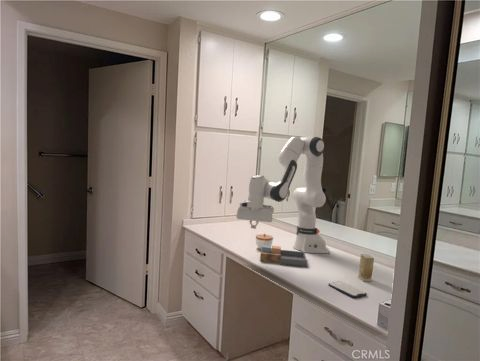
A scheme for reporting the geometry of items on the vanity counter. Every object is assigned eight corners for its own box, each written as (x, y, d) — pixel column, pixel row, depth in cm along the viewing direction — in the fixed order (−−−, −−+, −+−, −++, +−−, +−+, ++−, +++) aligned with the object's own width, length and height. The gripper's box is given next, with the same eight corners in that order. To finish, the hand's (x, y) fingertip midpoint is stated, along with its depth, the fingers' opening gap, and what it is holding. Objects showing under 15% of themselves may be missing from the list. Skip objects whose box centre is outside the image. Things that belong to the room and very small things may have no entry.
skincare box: (357, 277, 174) (360, 253, 173) (366, 277, 174) (368, 253, 173) (363, 281, 168) (365, 257, 166) (371, 282, 168) (374, 257, 167)
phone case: (326, 286, 160) (354, 300, 146) (327, 283, 160) (354, 296, 146) (340, 284, 165) (367, 296, 151) (340, 280, 164) (368, 293, 151)
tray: (303, 257, 200) (304, 252, 200) (306, 266, 184) (306, 260, 184) (279, 255, 201) (280, 249, 201) (280, 264, 186) (280, 258, 185)
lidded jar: (258, 251, 207) (259, 236, 206) (252, 246, 217) (253, 231, 217) (274, 251, 210) (275, 236, 209) (268, 246, 220) (269, 231, 220)
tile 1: (280, 250, 196) (280, 246, 195) (280, 253, 191) (280, 248, 190) (271, 249, 196) (271, 245, 196) (271, 252, 191) (271, 248, 191)
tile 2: (270, 249, 196) (271, 245, 196) (270, 252, 191) (271, 248, 191) (262, 249, 197) (262, 244, 196) (261, 251, 192) (262, 247, 191)
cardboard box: (279, 256, 199) (280, 249, 199) (280, 263, 187) (280, 255, 187) (261, 254, 200) (261, 247, 200) (260, 261, 189) (260, 253, 188)
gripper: (274, 205, 194) (271, 228, 196) (238, 201, 196) (236, 225, 198) (274, 206, 188) (271, 231, 189) (237, 203, 190) (235, 227, 191)
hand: (253, 228), depth 193 cm, fingers closed
